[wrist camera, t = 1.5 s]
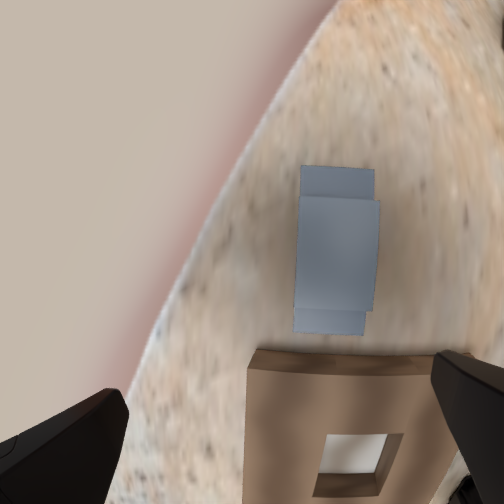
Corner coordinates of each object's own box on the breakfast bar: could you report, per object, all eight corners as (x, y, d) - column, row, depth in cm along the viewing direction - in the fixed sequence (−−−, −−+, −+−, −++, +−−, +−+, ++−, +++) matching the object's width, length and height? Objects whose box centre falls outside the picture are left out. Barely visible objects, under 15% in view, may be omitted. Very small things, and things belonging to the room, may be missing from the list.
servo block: (363, 179, 21) (380, 164, 15) (354, 317, 22) (367, 344, 16) (302, 176, 22) (300, 159, 16) (295, 314, 22) (291, 341, 17)
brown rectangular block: (469, 352, 20) (488, 369, 16) (413, 496, 21) (419, 518, 18) (256, 349, 23) (247, 368, 20) (248, 496, 25) (241, 519, 21)
